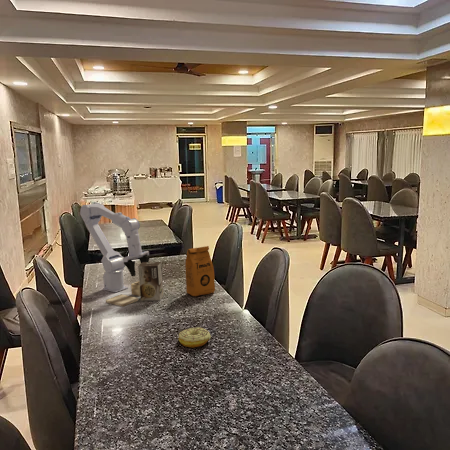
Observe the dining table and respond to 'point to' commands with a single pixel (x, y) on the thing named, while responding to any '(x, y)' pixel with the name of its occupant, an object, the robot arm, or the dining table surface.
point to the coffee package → (199, 272)
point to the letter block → (135, 288)
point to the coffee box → (150, 281)
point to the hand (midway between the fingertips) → (139, 273)
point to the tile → (122, 300)
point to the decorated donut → (194, 337)
